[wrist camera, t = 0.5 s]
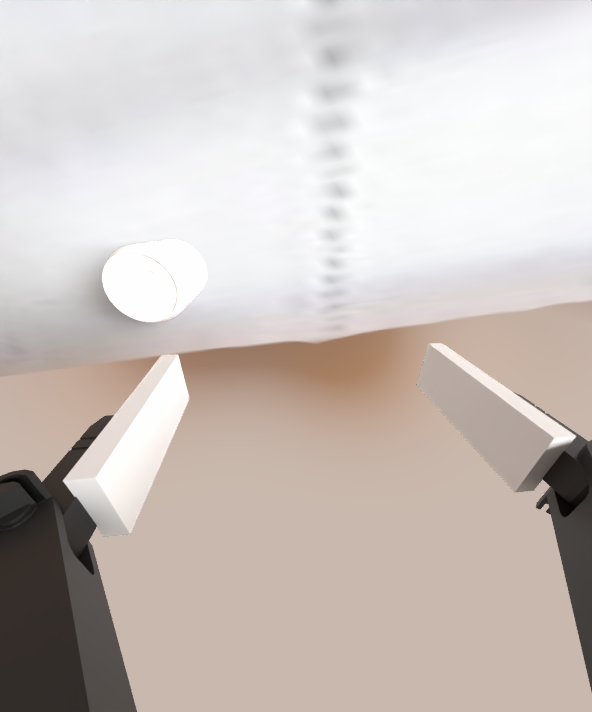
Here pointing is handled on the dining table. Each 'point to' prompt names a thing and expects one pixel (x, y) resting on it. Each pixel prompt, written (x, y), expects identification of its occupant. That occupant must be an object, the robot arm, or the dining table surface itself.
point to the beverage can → (154, 279)
